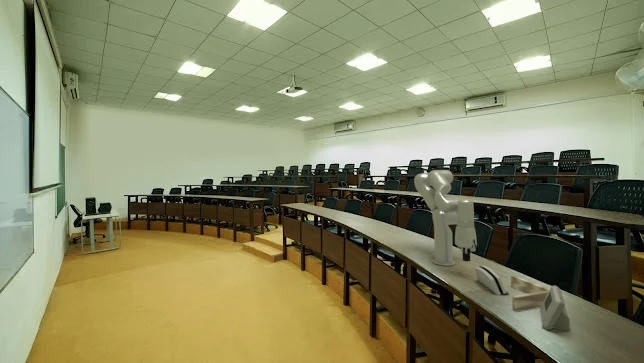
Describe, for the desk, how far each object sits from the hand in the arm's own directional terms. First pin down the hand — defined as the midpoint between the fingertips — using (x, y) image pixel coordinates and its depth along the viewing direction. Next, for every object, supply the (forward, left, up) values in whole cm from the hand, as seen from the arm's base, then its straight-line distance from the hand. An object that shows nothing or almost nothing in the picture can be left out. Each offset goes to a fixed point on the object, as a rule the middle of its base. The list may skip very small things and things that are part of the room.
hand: (466, 260), depth 137 cm
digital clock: (+43, -4, -8) cm, 44 cm away
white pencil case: (+14, 0, -8) cm, 16 cm away
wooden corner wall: (+26, +1, -8) cm, 27 cm away
